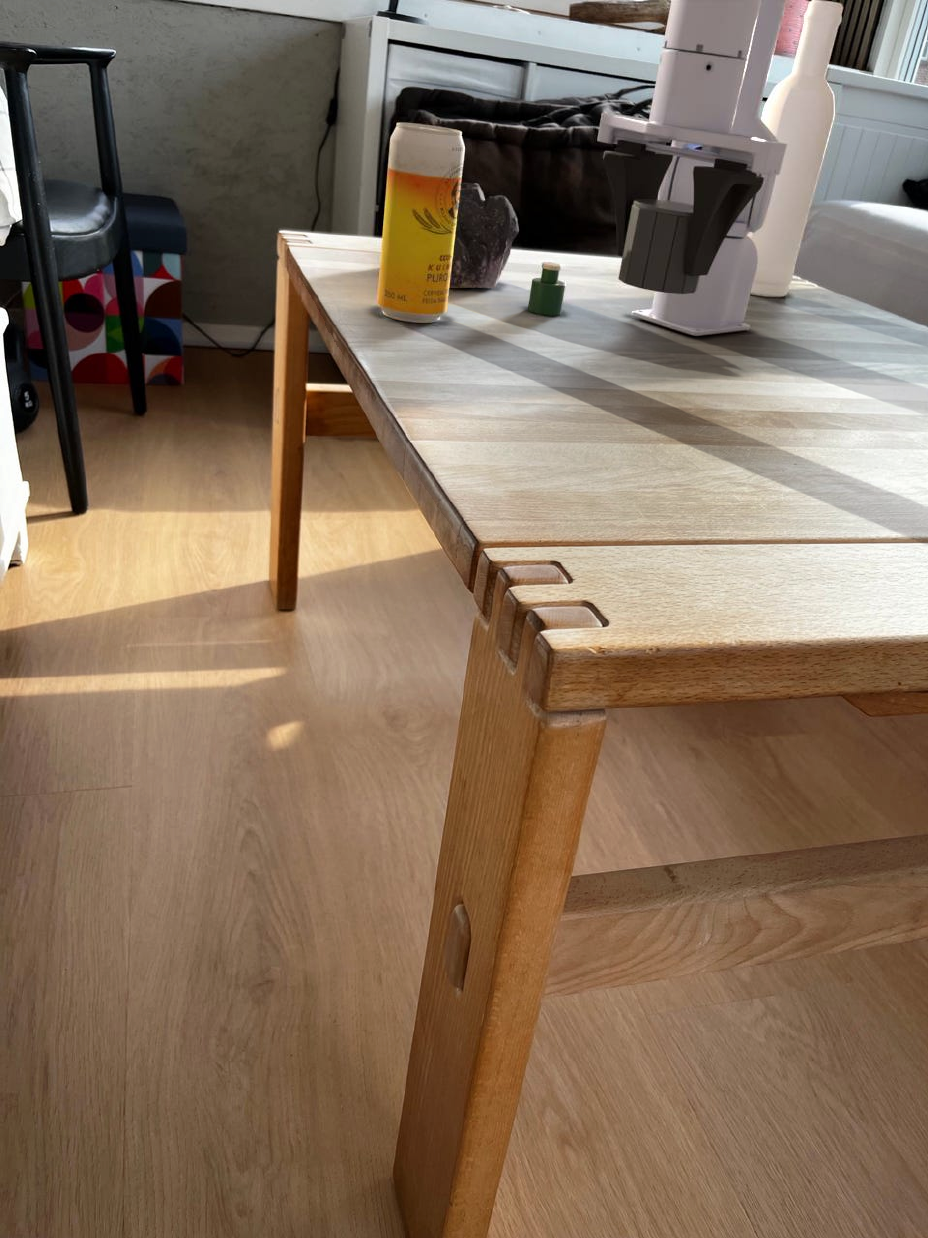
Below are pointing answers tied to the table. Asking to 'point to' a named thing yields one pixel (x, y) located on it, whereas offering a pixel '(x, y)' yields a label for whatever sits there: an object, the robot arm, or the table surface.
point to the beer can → (420, 221)
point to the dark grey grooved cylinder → (658, 247)
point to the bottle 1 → (547, 291)
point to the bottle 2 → (797, 148)
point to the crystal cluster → (481, 238)
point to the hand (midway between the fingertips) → (660, 264)
